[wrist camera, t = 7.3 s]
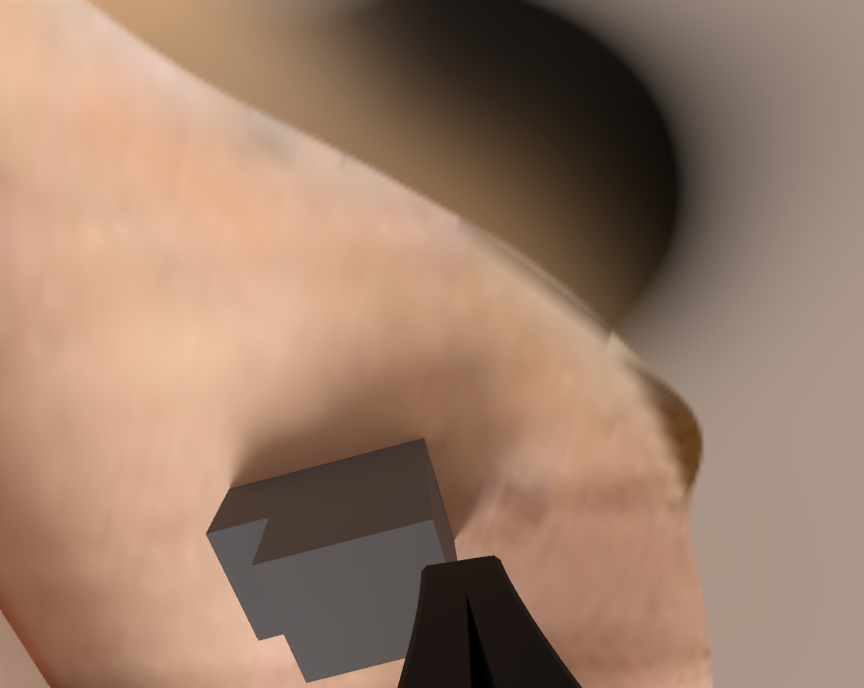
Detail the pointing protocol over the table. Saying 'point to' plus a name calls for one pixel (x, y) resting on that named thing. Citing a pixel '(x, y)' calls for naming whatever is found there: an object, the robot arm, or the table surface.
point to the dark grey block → (336, 555)
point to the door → (16, 661)
